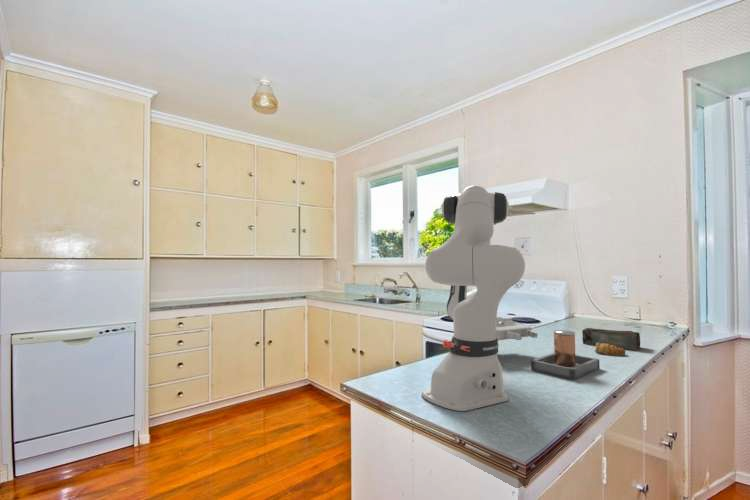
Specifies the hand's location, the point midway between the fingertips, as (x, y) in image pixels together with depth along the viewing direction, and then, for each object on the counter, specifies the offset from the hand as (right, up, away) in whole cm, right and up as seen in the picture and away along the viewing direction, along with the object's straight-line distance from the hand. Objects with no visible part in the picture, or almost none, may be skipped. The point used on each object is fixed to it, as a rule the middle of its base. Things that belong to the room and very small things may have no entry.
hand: (528, 336), depth 124 cm
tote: (+8, -8, -9) cm, 15 cm away
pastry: (+34, -9, +10) cm, 37 cm away
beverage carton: (+43, -9, +22) cm, 50 cm away
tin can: (+8, -7, -9) cm, 14 cm away
